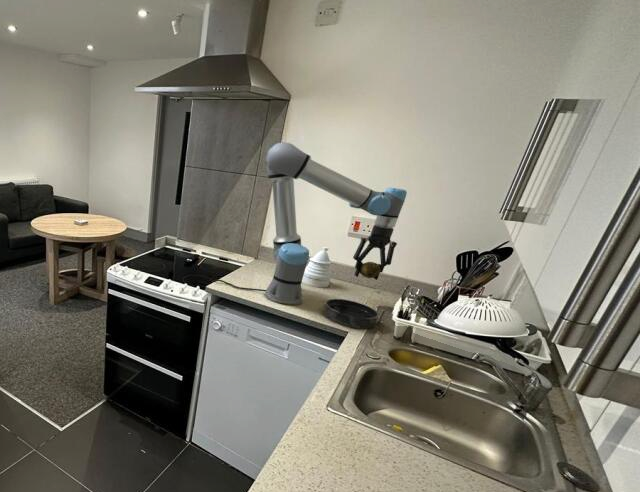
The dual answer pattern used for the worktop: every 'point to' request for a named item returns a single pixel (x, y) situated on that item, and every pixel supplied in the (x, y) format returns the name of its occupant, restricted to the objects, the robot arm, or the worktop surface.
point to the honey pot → (318, 270)
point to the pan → (350, 313)
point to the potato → (370, 269)
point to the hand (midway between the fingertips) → (365, 277)
